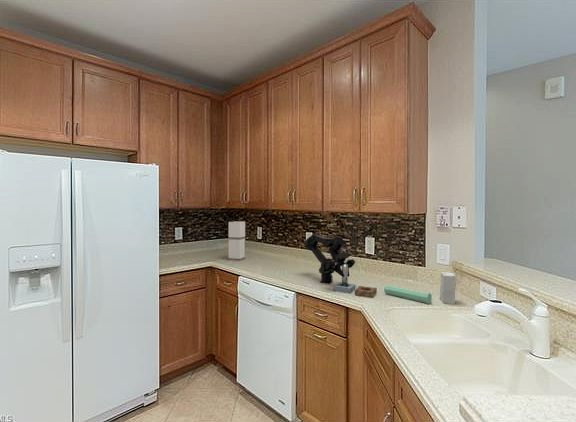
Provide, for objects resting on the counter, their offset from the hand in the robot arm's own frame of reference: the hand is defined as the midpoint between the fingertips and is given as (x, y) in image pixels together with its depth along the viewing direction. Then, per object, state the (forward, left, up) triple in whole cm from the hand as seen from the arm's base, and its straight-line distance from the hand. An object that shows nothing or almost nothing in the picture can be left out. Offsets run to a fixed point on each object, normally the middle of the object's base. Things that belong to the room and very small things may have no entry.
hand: (346, 276), depth 176 cm
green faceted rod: (+33, +3, -9) cm, 34 cm away
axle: (-1, +1, -7) cm, 7 cm away
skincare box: (+53, +7, -9) cm, 54 cm away
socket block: (-1, +1, -8) cm, 9 cm away
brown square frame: (+12, -1, -8) cm, 15 cm away
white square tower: (-118, +49, -9) cm, 128 cm away
